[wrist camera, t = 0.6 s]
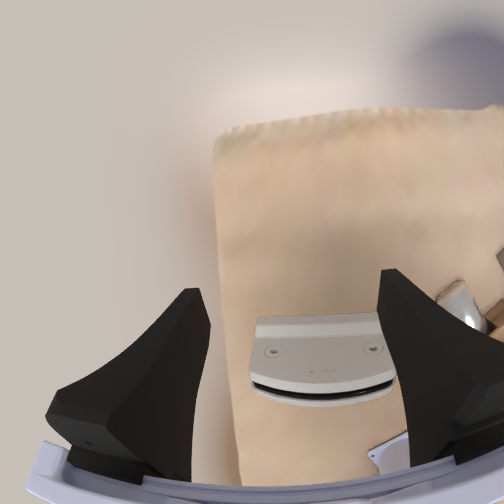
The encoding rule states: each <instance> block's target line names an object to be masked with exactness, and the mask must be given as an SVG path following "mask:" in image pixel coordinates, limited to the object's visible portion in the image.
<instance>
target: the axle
mask: <svg viewBox="0 0 504 504" xmlns="http://www.w3.org/2000/svg"><path fill="white" fill-rule="evenodd" d="M437 303H438V304H439V305H440V306H441V307H443V308H444V309H445V310H447V311H448V312H449V313H451V314H452V315H454V316H455V317H457V318H458V319H460V320H462V321H463V322H465V323H466V324H468V325H469V326H471V327H473V328H475V329H477V330H478V331H480V332H482V333H484V334H486V335H489V334H491V330H490V328H489V326H488V324H487V322H486V320H485V318H484V316H483V314H482V312H481V310H480V308H479V306H478V304H477V302H476V300H475V298H474V296H473V294H472V292H471V290H470V289H469V287H468V285H467V283H466V281H464V280H462V281H458V282H456V283H454V284H452V285H451V286H450V287H449V288H447V289H446V290H445V291H444V292H442V293H441V294H440V296H439V297H438V299H437Z"/></svg>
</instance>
